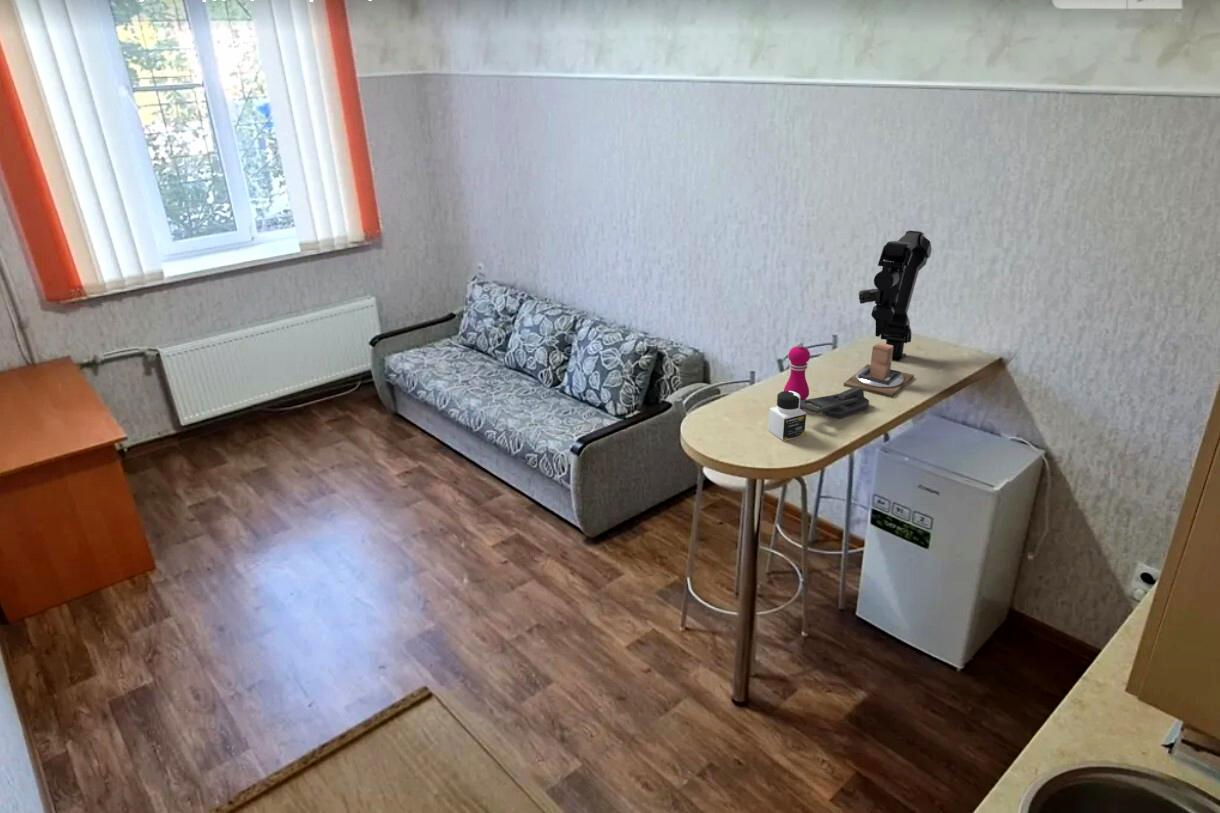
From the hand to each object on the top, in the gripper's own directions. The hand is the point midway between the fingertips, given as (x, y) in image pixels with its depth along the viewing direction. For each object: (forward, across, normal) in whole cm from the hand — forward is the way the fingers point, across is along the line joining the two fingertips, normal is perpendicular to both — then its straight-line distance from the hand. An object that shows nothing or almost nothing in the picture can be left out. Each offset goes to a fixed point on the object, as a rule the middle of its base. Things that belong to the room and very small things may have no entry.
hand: (878, 332), depth 242 cm
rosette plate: (+13, +8, +4) cm, 16 cm away
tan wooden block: (+11, +8, +4) cm, 14 cm away
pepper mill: (+17, +33, -17) cm, 41 cm away
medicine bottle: (+18, +51, -15) cm, 56 cm away
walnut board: (+13, +8, +4) cm, 16 cm away
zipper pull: (+16, +35, -6) cm, 39 cm away
